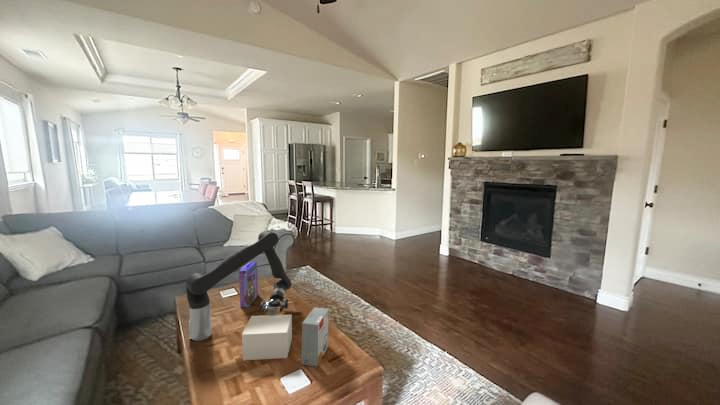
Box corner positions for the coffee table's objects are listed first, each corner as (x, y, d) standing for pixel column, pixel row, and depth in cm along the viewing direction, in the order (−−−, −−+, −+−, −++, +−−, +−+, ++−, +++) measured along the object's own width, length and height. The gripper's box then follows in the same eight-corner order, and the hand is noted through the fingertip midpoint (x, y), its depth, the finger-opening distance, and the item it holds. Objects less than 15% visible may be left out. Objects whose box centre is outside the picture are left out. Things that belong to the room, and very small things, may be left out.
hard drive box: (317, 367, 128) (317, 325, 125) (301, 365, 129) (301, 323, 126) (328, 346, 143) (328, 308, 140) (313, 344, 144) (313, 306, 142)
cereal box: (248, 307, 180) (246, 270, 177) (240, 307, 180) (238, 270, 177) (258, 295, 197) (257, 261, 194) (251, 294, 197) (249, 261, 194)
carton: (242, 360, 132) (241, 335, 130) (252, 339, 147) (251, 317, 146) (287, 357, 134) (286, 333, 132) (292, 337, 149) (291, 315, 148)
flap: (241, 335, 130) (241, 328, 130) (253, 313, 149) (252, 307, 148) (286, 333, 132) (286, 326, 132) (292, 312, 151) (292, 306, 150)
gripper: (264, 290, 162) (257, 304, 146) (290, 290, 164) (285, 303, 148) (265, 303, 163) (257, 318, 147) (290, 302, 165) (286, 317, 149)
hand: (272, 311), depth 148 cm, fingers open, 8 cm apart
